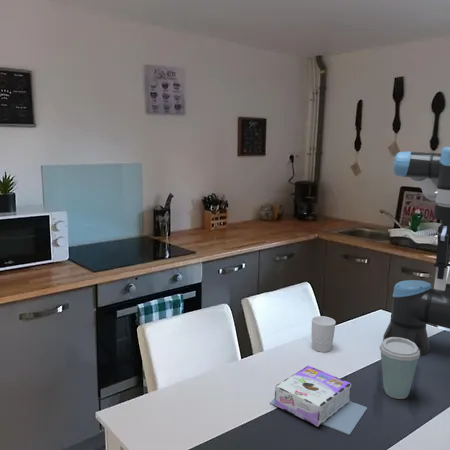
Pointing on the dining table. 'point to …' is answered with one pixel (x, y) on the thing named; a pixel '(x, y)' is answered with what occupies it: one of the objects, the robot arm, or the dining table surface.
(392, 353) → the disposable coffee cup
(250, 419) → the dining table surface
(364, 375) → the dining table surface
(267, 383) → the dining table surface
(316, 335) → the white cup
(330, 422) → the mat
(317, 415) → the candy box
